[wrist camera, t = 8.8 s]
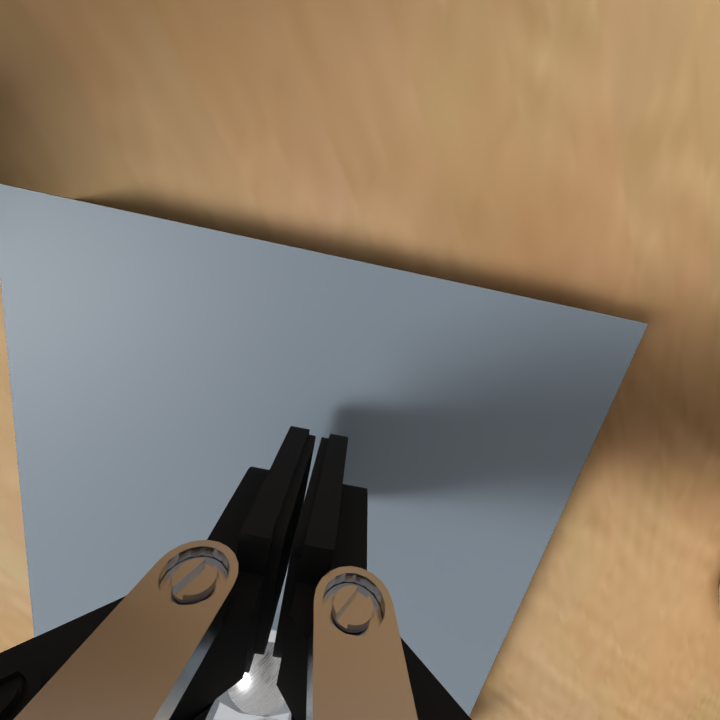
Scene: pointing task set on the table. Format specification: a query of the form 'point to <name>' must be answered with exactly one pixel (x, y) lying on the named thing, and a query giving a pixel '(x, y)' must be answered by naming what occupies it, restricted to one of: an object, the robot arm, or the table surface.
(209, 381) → the plate
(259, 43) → the table surface
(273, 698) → the silver metal ball
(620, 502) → the table surface
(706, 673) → the table surface
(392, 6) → the table surface
